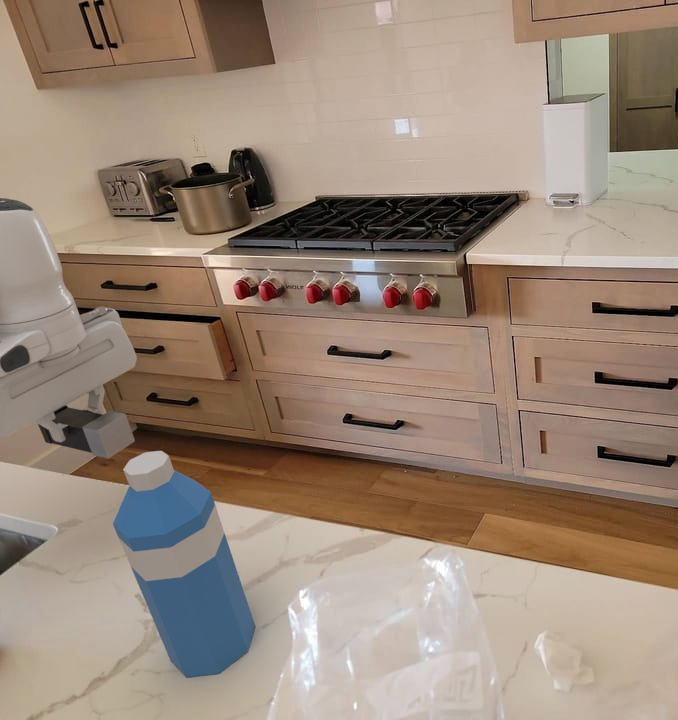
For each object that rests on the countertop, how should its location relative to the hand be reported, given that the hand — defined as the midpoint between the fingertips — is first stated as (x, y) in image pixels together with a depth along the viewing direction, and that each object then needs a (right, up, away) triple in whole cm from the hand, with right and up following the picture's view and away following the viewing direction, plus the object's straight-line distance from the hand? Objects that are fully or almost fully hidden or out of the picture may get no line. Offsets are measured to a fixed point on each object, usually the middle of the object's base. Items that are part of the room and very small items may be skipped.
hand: (79, 429), depth 88 cm
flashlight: (+1, -2, +1) cm, 2 cm away
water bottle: (+22, -23, -11) cm, 34 cm away
